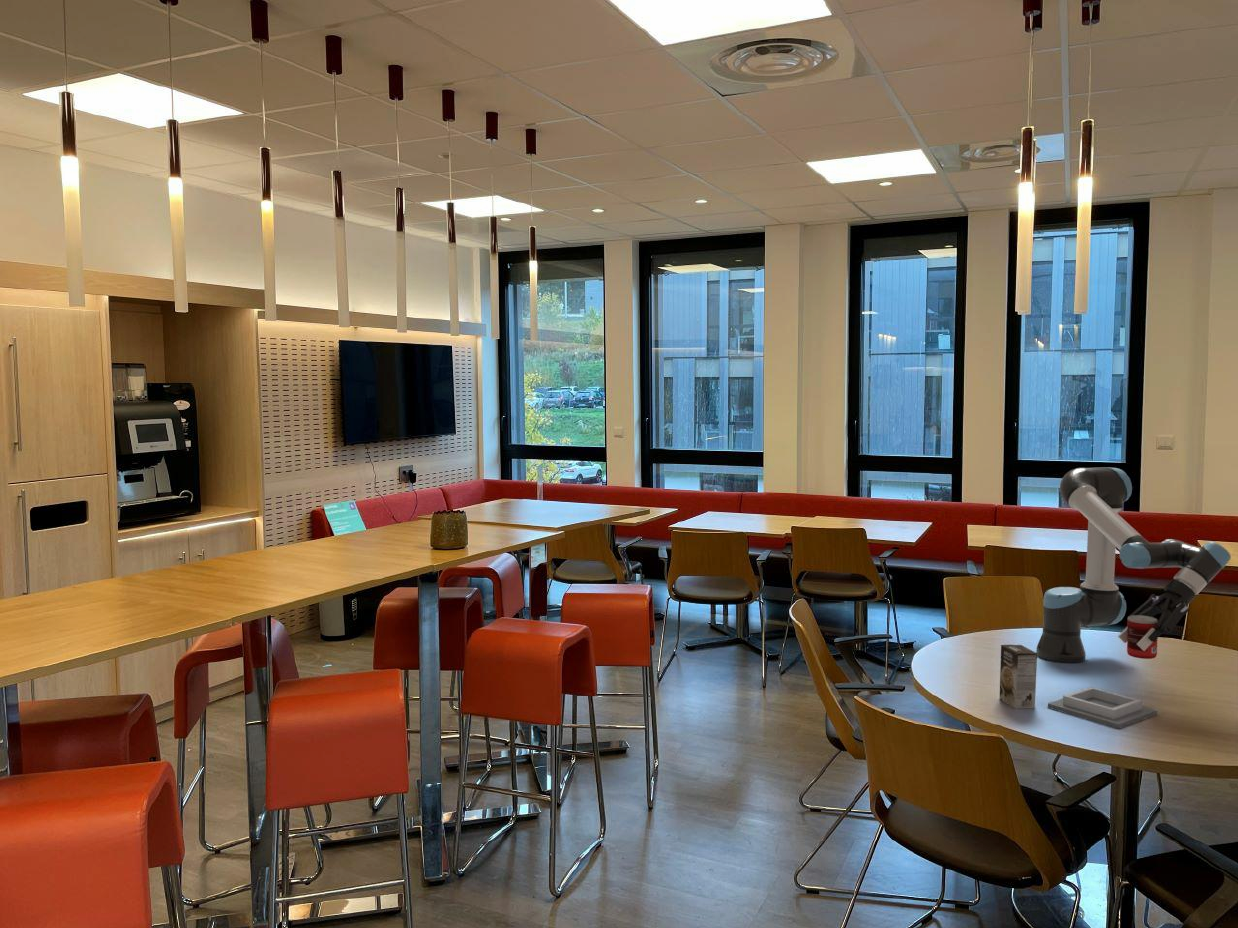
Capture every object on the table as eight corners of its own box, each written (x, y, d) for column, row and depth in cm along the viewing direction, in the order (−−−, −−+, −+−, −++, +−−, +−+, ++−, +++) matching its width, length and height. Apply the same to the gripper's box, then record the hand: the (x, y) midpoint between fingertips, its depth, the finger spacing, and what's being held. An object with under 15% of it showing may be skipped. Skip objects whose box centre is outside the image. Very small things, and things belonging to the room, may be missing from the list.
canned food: (1153, 652, 266) (1153, 615, 266) (1160, 659, 259) (1161, 622, 258) (1124, 650, 269) (1124, 614, 268) (1130, 658, 261) (1130, 620, 260)
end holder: (1047, 707, 257) (1048, 694, 257) (1086, 694, 268) (1086, 682, 268) (1118, 728, 241) (1119, 715, 240) (1156, 714, 252) (1157, 701, 251)
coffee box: (998, 698, 265) (1000, 644, 264) (1019, 697, 266) (1021, 643, 265) (1014, 708, 256) (1016, 652, 255) (1036, 708, 257) (1038, 652, 256)
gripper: (1219, 603, 253) (1163, 662, 253) (1168, 588, 274) (1117, 642, 274) (1201, 585, 253) (1145, 644, 253) (1152, 571, 273) (1100, 626, 273)
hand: (1130, 643), depth 263 cm, fingers closed on canned food, 8 cm apart
